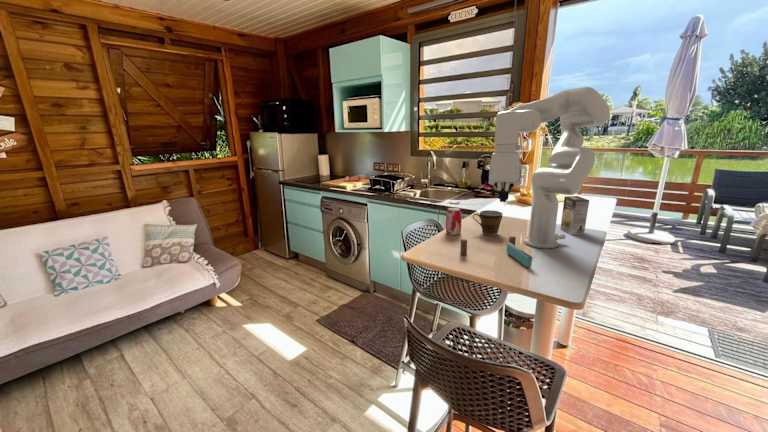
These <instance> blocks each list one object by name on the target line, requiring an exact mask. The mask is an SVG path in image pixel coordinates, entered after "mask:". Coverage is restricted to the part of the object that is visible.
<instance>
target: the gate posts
mask: <svg viewBox="0 0 768 432" xmlns="http://www.w3.org/2000/svg"><path fill="white" fill-rule="evenodd" d="M516 239H517V237H516V236H514V235H509V236H508V243H509V242H510V243H512V244H513V245H515V246H516ZM459 254H460V255H461V256H463V257H466V256H467V255H468V239H466V238H462V239H460V253H459Z"/></svg>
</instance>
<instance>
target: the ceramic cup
mask: <svg viewBox="0 0 768 432" xmlns="http://www.w3.org/2000/svg"><path fill="white" fill-rule="evenodd" d="M503 214H504V213H503V212H501V211H498V210H489V209H488V210H487V209H486V210H481V211H480V212H479V214H478V213H473V216H472V218H473V219H474V221H475V222H477V223H478V224H479V225H480V227H481V231H482V232H481V233H482V235H484V236H488V237H489V236H491V237H493V236H497V235H498V234H499V230H500V225H501V222H502V219H503ZM475 216H478V218H479V219H480V222H479V221H478V220H477V219H476V218H475Z"/></svg>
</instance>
